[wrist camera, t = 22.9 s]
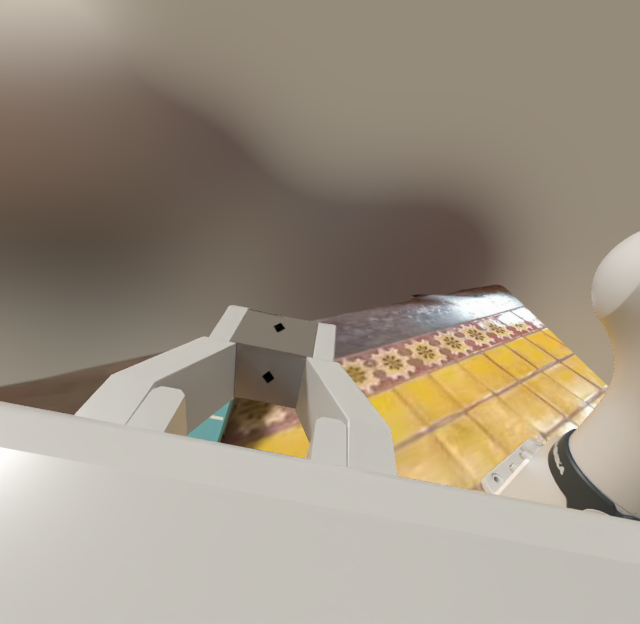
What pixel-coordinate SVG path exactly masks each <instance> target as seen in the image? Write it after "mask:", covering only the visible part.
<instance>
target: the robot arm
mask: <svg viewBox="0 0 640 624" xmlns="http://www.w3.org/2000/svg"><path fill="white" fill-rule="evenodd" d="M591 297H592V304H593V307H594V310H595V312H596V315H597V317H598V318H599V320H600V321H601V322H602V324H603V325H604V327H605V329H606V331H607V333H608V335H609V338H610V340H611V344H612V347H613V351H614V362H615V363H614V374H613V378H612V381H611V384H610V386H609V388H608V390H607V392H606V393H605V395H604V396H603V398H602V399H601V400H600V402H599V403H598V404H597V406H596V407H595V408H594V410H593V411H592V412H591V413H590V415H589V416H588V417H587V418H586V419H585V420H584V422H583V423H582V424H581V425H580V426H579V427H578V428H577V429H573V430H571V431H569V432H567V433H565V434H564V435H562V436H551V438H550V439H549V440H548V441H547V442H546V443H545V444H542V443H539V442H536V441H534V440H533V439H530V438H529V439H528V440H526V441H525V442H524V443H523V444H521V445H520V446H519V447H518V448H517V449H516V450H515V451H513V452H512V453H511V454H510V455H509V456H508V457H507V458H505V459H504V460H503V461H502V462H501V463H500V464H499V465H497V466H496V467H495V468H494V469H493V470H492V471H490V472H489V473H488V474H487V475H486V476H485V477H484V478H483V479H482V481H481V483H482V486H483V488H484V490H485V492H480V491H475V490H470V489H464V488H459V487H454V486H448V485H443V484H438V483H432V482H427V481H421V480H416V479H411V478H405V477H400V476H397V472H396V464H395V456H394V449H393V441H392V433H391V428H390V427H389V426H388V424H387V423H386V422H385V421H384V419H383V418H382V417H381V415H380V414H379V413H378V412H377V410H376V409H375V408H374V407H373V405H372V404H371V403H370V401H369V400H368V399H367V398H366V396H365V395H364V394H363V393H362V391H361V390H360V389H359V387H358V386H357V385H356V384H355V382H354V381H353V380H352V379H351V377H350V376H349V375H348V373H347V372H346V371H345V370H344V368H343V367H342V366H341V365H340V363H336V362H334V357H335V341H336V326H335V325H331V324H325V323H319V322H318V323H317V322H312V321H306V320H300V319H295V318H289V317H284V316H281V315H277V314H272V313H268V312H263V311H259V310H254V309H249V308H245V307H240V306H235V305H231V306H229V307H228V309H227V310H226V312H225V313H224V315H223V317H222V318H221V319H220V321H219V323H218V324H217V326H216V327H215V329H214V330H213V332H212V333H211V335H210V336H209V337H201V338H199V339H196V340H194V341H192V342H189V343H187V344H184V345H182V346H179V347H177V348H175V349H172V350H170V351H167V352H165V353H163V354H160V355H158V356H155V357H153V358H151V359H148V360H146V361H143V362H141V363H139V364H136V365H134V366H131V367H129V368H127V369H124V370H122V371H119V372H117V373H115V374H112V375H111V376H110V377H109V378H108V379H107V380H106V381H105V382H104V384H103V385H102V386H101V387H100V388H99V389H98V390H97V391H96V392H95V393H94V394H93V395H92V396H91V397H90V399H89V400H88V401H87V402H86V403H85V404H84V405H83V406H82V407H81V408H80V409H79V410H78V411H77V412H76V414H75V415H70V414H64V413H59V412H54V411H48V410H43V409H38V408H32V407H27V406H22V405H16V404H11V403H6V402H0V624H640V231H639V232H637V233H635V234H633V235H632V236H630V237H628V238H627V239H625V240H624V241H622V242H621V243H620V244H618V245H617V246H616V247H615V248H614V249H613V250H611V251H610V252H609V254H608V255H607V256H606V257H605V258H604V259H603V261H602V262H601V263H600V265H599V267H598V269H597V271H596V273H595V276H594V278H593V282H592V288H591ZM233 397H238V398H244V399H250V400H256V401H262V402H267V403H272V404H276V405H281V406H286V407H290V408H295V409H296V412H297V415H298V417H299V419H300V422H301V424H302V426H303V429H304V431H305V433H306V436H307V438H308V441H309V443H310V444H309V448H308V452H307V456H306V459H305V458H299V457H294V456H289V455H283V454H278V453H273V452H267V451H262V450H257V449H251V448H246V447H241V446H235V445H230V444H225V443H219V442H214V441H209V440H203V439H198V438H193V437H187V435H188V434H189V433H190V432H191V431H193V430H194V429H195V428H197V427H198V426H199V425H200V424H202V423H203V422H204V421H205V420H207V419H208V418H209V417H211V416H212V415H213V414H214V413H216V412H217V411H218V410H219V409H221V408H222V407H223V406H224V405H226V404H227V403H228V402H230V401H231V400H232V399H233ZM495 480H496V481H497V482H496V481H495Z"/></svg>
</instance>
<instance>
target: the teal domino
mask: <svg viewBox="0 0 640 624" xmlns="http://www.w3.org/2000/svg"><path fill="white" fill-rule="evenodd" d="M233 400H234V397H233V399H232V400H231V401H230V402H228V403H227V404H226V405H224V406H223V407H222V408H221V409H219V410H218V411H217V412H216V413H214V414H213V415H212V416H211V417H209V418H208V419H207V420H205V421H204V422H203V423H202V424H200V425H199V426H198V427H197V428H195V429H194V430H193V431H191V432H190V433H189V434H188V435H187V437H193V438H198V439H203V440H209V441H214V442H219V443H220V442H221V438H222V435H223V432H224V429H225V426H226V422H227V419H228V416H229V413H230V409H231V406H232V403H233Z"/></svg>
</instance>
